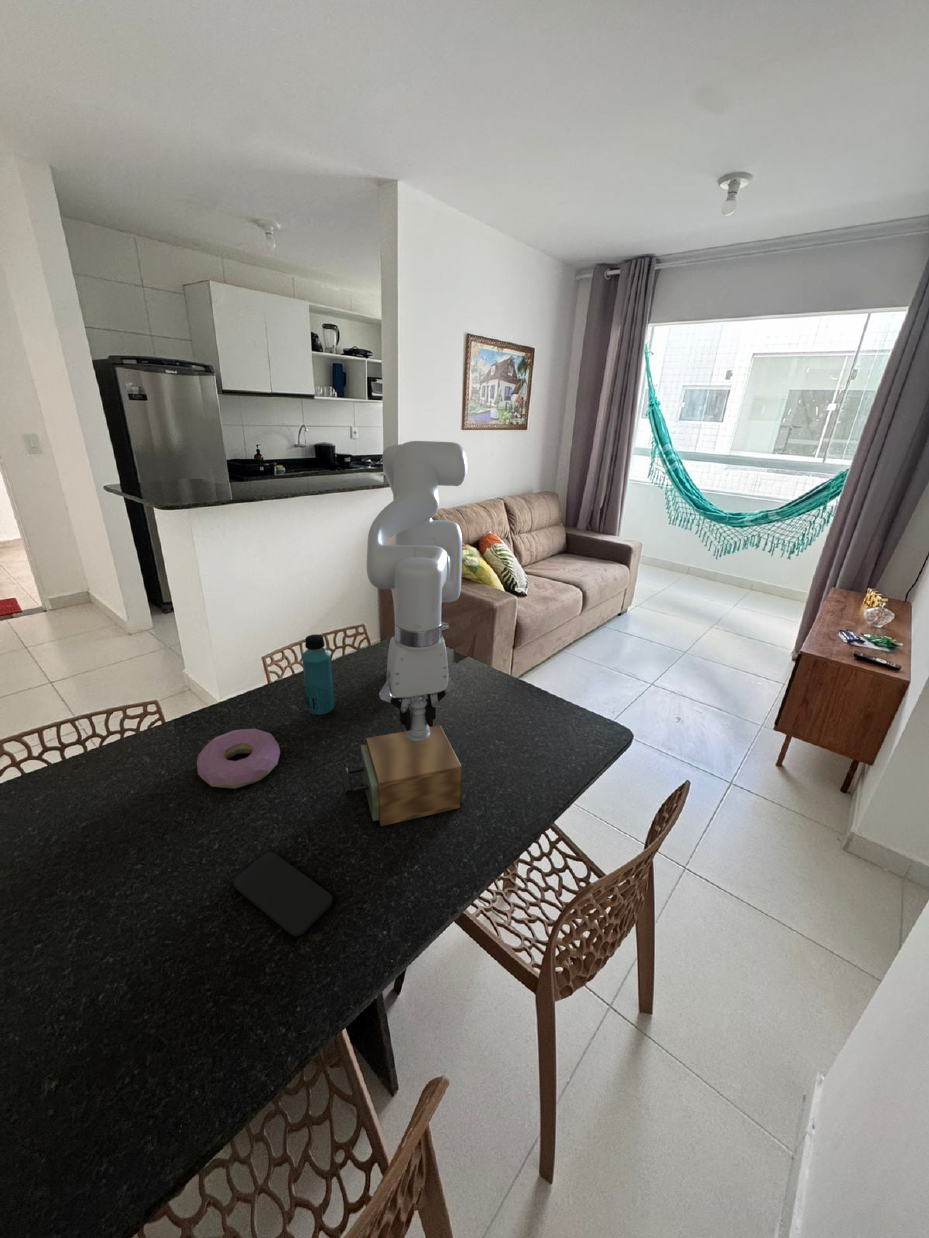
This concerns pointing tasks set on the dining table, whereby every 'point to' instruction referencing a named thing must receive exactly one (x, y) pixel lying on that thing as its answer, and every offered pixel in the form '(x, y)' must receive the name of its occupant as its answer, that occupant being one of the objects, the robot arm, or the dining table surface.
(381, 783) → the cabinet
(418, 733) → the rook chess piece
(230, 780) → the donut
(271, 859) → the phone
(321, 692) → the beverage bottle
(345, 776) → the drawer
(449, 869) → the dining table surface
